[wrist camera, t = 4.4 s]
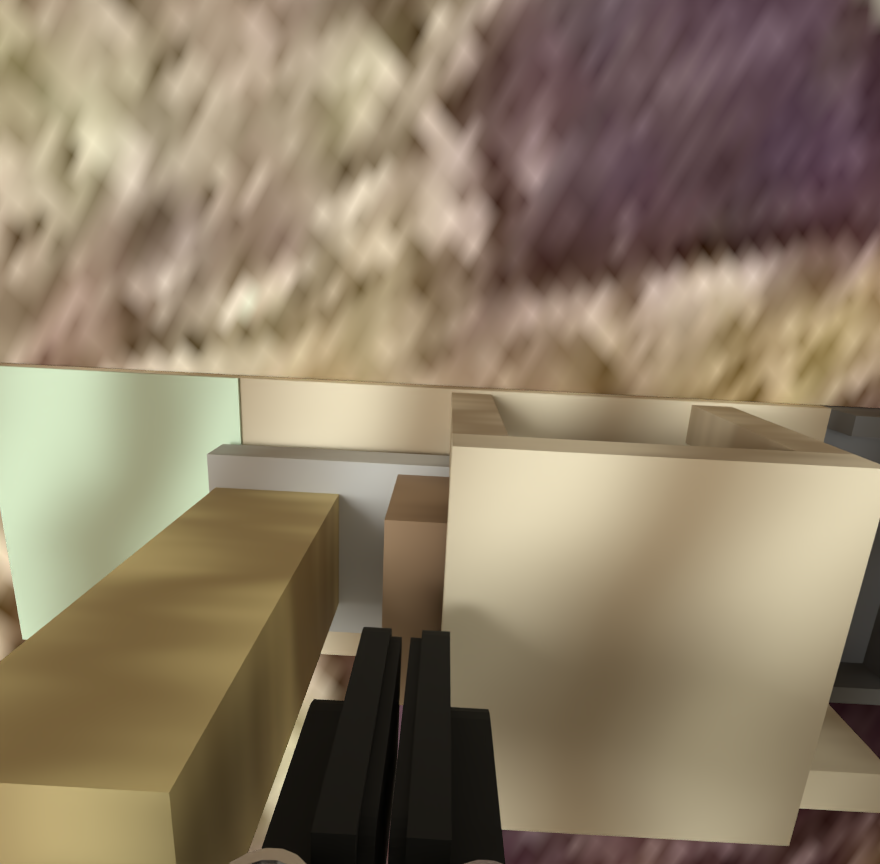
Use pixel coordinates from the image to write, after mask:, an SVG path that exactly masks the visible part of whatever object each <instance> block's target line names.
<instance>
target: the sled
mask: <svg viewBox="0 0 880 864" xmlns="http://www.w3.org/2000/svg"><path fill="white" fill-rule="evenodd" d="M207 465H208V480H209V493H208V494H207V495H206V496H205V497H203V498H202V499H201V500H200V501H198V502H197V503H196V504H195V505H193V506H192V507H191V508H190V509H188V510H187V511H186V512H185V513H183V514H182V515H181V516H180V517H179V518H177V519H176V520H175V521H174V522H172V523H171V524H170V525H169V526H167V527H166V528H165V529H164V530H162V531H161V532H160V533H159V534H157V535H156V536H155V537H154V538H152V539H151V540H150V541H149V542H148V543H146V544H145V545H144V546H143V547H141V548H140V549H139V550H138V551H136V552H135V553H134V554H133V555H131V556H130V557H129V558H128V559H126V560H125V561H124V562H123V563H122V564H120V565H119V566H118V567H117V568H115V569H114V570H113V571H112V572H110V573H109V574H108V575H107V576H105V577H104V578H103V579H102V580H100V581H99V582H98V583H97V584H95V585H94V586H93V587H92V588H91V589H89V590H88V591H87V592H86V593H84V594H83V595H82V596H81V597H79V598H78V599H77V600H76V601H74V602H73V603H72V604H71V605H69V606H68V607H67V608H66V609H64V610H63V611H62V612H61V613H60V614H58V615H57V616H56V617H55V618H53V619H52V620H51V621H50V622H48V623H47V624H46V625H45V626H43V627H42V628H41V629H40V630H38V631H37V632H36V633H35V634H34V635H32V636H31V637H30V638H29V639H27V640H26V641H25V642H24V643H22V644H21V645H20V646H19V647H17V648H16V649H15V650H14V651H12V652H11V653H10V654H9V655H7V656H6V657H5V658H4V659H3V660H1V661H0V864H229V863H230V862H232V861H234V860H235V859H237V858H239V857H241V856H243V855H244V854H246V853H248V851H249V848H250V845H251V843H252V840H253V837H254V834H255V832H256V829H257V826H258V824H259V821H260V818H261V815H262V813H263V810H264V807H265V804H266V802H267V799H268V796H269V793H270V791H271V788H272V785H273V782H274V780H275V777H276V774H277V772H278V769H279V766H280V763H281V761H282V758H283V755H284V752H285V750H286V747H287V744H288V741H289V739H290V736H291V733H292V730H293V728H294V725H295V722H296V720H297V717H298V714H299V711H300V709H301V706H302V703H303V700H304V698H305V695H306V692H307V689H308V687H309V684H310V681H311V678H312V676H313V673H314V670H315V668H316V665H317V662H318V659H319V657H320V654H321V651H322V648H323V646H324V643H325V640H326V637H327V635H328V632H329V631H331V632H349V633H362V630H363V627H378V628H392V636H396V637H402V655H401V679H400V703H399V705H403V703H404V694H405V685H406V676H407V667H408V657H409V648H410V639H411V637H414V638H422V630H432V631H441V624H442V606H443V588H444V571H445V553H446V535H447V518H448V500H449V456H443V455H424V454H405V453H386V452H367V451H349V450H330V449H311V448H292V447H273V446H254V445H235V444H222V445H220V446H219V447H217V448H216V449H214V450H213V451H211V452H210V453H208V454H207Z"/></svg>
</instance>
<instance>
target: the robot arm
mask: <svg viewBox="0 0 880 864" xmlns="http://www.w3.org/2000/svg"><path fill="white" fill-rule="evenodd" d="M401 655H402V637H396V636H392V628H378V627H363V630H362V633H361V637H360V641H359V645H358V649H357V653H356V657H355V661H354V664H353V668H352V672H351V676H350V680H349V684H348V688H347V692H346V696H345V700H344V701H335V700H317V699H314V700H313V701H312V702H311V705H310V707H309V709H308V712H307V715H306V718H305V721H304V724H303V727H302V730H301V733H300V736H299V739H298V742H297V745H296V748H295V751H294V754H293V757H292V760H291V763H290V766H289V769H288V772H287V775H286V778H285V781H284V784H283V787H282V790H281V793H280V796H279V799H278V801H277V804H276V807H275V810H274V813H273V816H272V819H271V822H270V825H269V828H268V831H267V834H266V837H265V840H264V843H263V846H262V849H260V850H256V851H252V852H248V853H246V854H244V855H243V856H241V857H239V858H237V859H235V860H234V861H232V862H230V863H229V864H386V858H387V849H388V839H389V856H388V864H505V858H504V848H503V838H502V828H501V818H500V808H499V798H498V789H497V779H496V769H495V759H494V749H493V739H492V729H491V720H490V713H489V710H488V709H478V708H460V707H451V686H450V631H432V630H422V638H414V637H411V639H410V648H409V657H408V667H407V676H406V685H405V694H404V703H403V713H402V722H401V731H400V740H399V750H398V727H399V703H400V679H401ZM397 750H398V759H397ZM396 765H397V768H396ZM395 775H396V777H395ZM394 784H395V787H394ZM393 794H394V796H393ZM392 803H393V805H392ZM391 812H392V815H391ZM390 821H391V826H390ZM389 830H390V838H389Z"/></svg>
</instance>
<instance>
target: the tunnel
mask: <svg viewBox="0 0 880 864" xmlns="http://www.w3.org/2000/svg"><path fill="white" fill-rule="evenodd" d="M222 444H235V445H254V446H273V447H292V448H311V449H330V450H349V451H367V452H386V453H405V454H424V455H443V456H449V500H448V518H447V535H446V553H445V571H444V588H443V606H442V624H441V631H450V686H451V707H460V708H478V709H488V710H489V713H490V720H491V729H492V739H493V749H494V759H495V769H496V779H497V789H498V798H499V808H500V818H501V828H502V830H519V831H536V832H553V833H571V834H588V835H606V836H623V837H641V838H658V839H675V840H693V841H710V842H728V843H745V844H762V845H780V846H789V843H790V840H791V836H792V833H793V829H794V825H795V822H796V818H797V815H798V811H799V808H802V809H819V810H837V811H855V812H872V813H880V759H879V758H878V757H877V756H876V755H875V754H874V753H873V751H872V750H871V749H870V748H869V747H868V746H867V745H866V744H865V743H864V742H863V741H862V740H861V739H860V737H859V736H858V735H857V734H856V733H855V732H854V731H853V730H852V729H851V728H850V727H849V726H848V725H847V724H846V722H845V721H844V720H843V719H842V718H841V717H840V716H839V715H838V714H837V713H836V712H835V711H834V710H833V708H832V707H831V706H830V705H829V704H828V703H829V702H832V703H850V704H868V705H880V408H860V407H841V406H822V405H803V404H783V403H764V402H745V401H725V400H706V399H687V398H667V397H648V396H629V395H609V394H590V393H571V392H551V391H532V390H513V389H494V388H474V387H455V386H436V385H416V384H397V383H378V382H358V381H339V380H320V379H300V378H281V377H262V376H242V375H223V374H204V373H185V372H165V371H146V370H127V369H107V368H88V367H69V366H49V365H30V364H11V363H0V510H1V516H2V522H3V527H4V533H5V539H6V545H7V551H8V557H9V562H10V568H11V574H12V580H13V586H14V592H15V597H16V603H17V609H18V615H19V621H20V627H21V632H22V638H23V639H26V640H27V639H29V638H30V637H31V636H32V635H34V634H35V633H36V632H37V631H38V630H40V629H41V628H42V627H43V626H45V625H46V624H47V623H48V622H50V621H51V620H52V619H53V618H55V617H56V616H57V615H58V614H60V613H61V612H62V611H63V610H64V609H66V608H67V607H68V606H69V605H71V604H72V603H73V602H74V601H76V600H77V599H78V598H79V597H81V596H82V595H83V594H84V593H86V592H87V591H88V590H89V589H91V588H92V587H93V586H94V585H95V584H97V583H98V582H99V581H100V580H102V579H103V578H104V577H105V576H107V575H108V574H109V573H110V572H112V571H113V570H114V569H115V568H117V567H118V566H119V565H120V564H122V563H123V562H124V561H125V560H126V559H128V558H129V557H130V556H131V555H133V554H134V553H135V552H136V551H138V550H139V549H140V548H141V547H143V546H144V545H145V544H146V543H148V542H149V541H150V540H151V539H152V538H154V537H155V536H156V535H157V534H159V533H160V532H161V531H162V530H164V529H165V528H166V527H167V526H169V525H170V524H171V523H172V522H174V521H175V520H176V519H177V518H179V517H180V516H181V515H182V514H183V513H185V512H186V511H187V510H188V509H190V508H191V507H192V506H193V505H195V504H196V503H197V502H198V501H200V500H201V499H202V498H203V497H205V496H206V495H207V494H208V493H209V480H208V465H207V454H208V453H210V452H211V451H213V450H214V449H216V448H217V447H219V446H220V445H222ZM360 637H361V633H349V632H331V631H329V632H328V635H327V637H326V640H325V643H324V646H323V648H322V651H321V654H332V655H350V656H356V653H357V649H358V645H359V641H360Z"/></svg>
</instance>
